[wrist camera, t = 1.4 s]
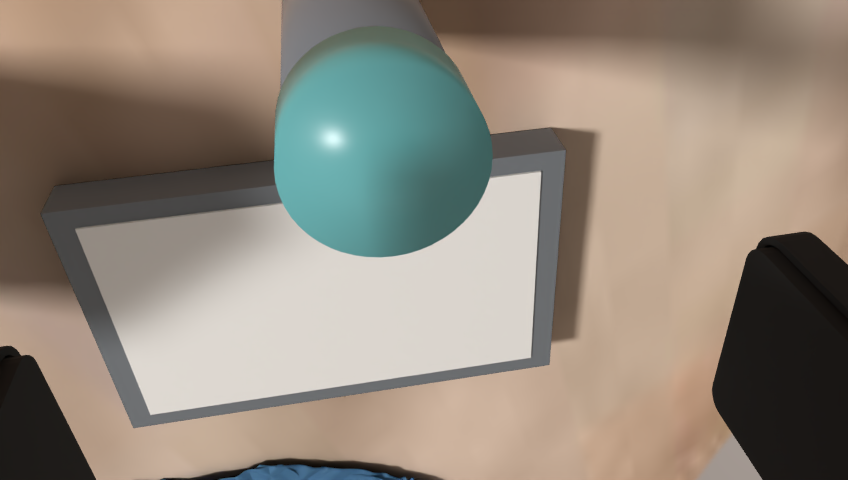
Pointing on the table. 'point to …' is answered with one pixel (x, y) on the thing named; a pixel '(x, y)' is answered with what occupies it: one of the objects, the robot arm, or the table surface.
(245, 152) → the table surface
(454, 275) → the drawing board
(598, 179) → the table surface
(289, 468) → the decorative plate
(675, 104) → the table surface
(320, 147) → the marker
